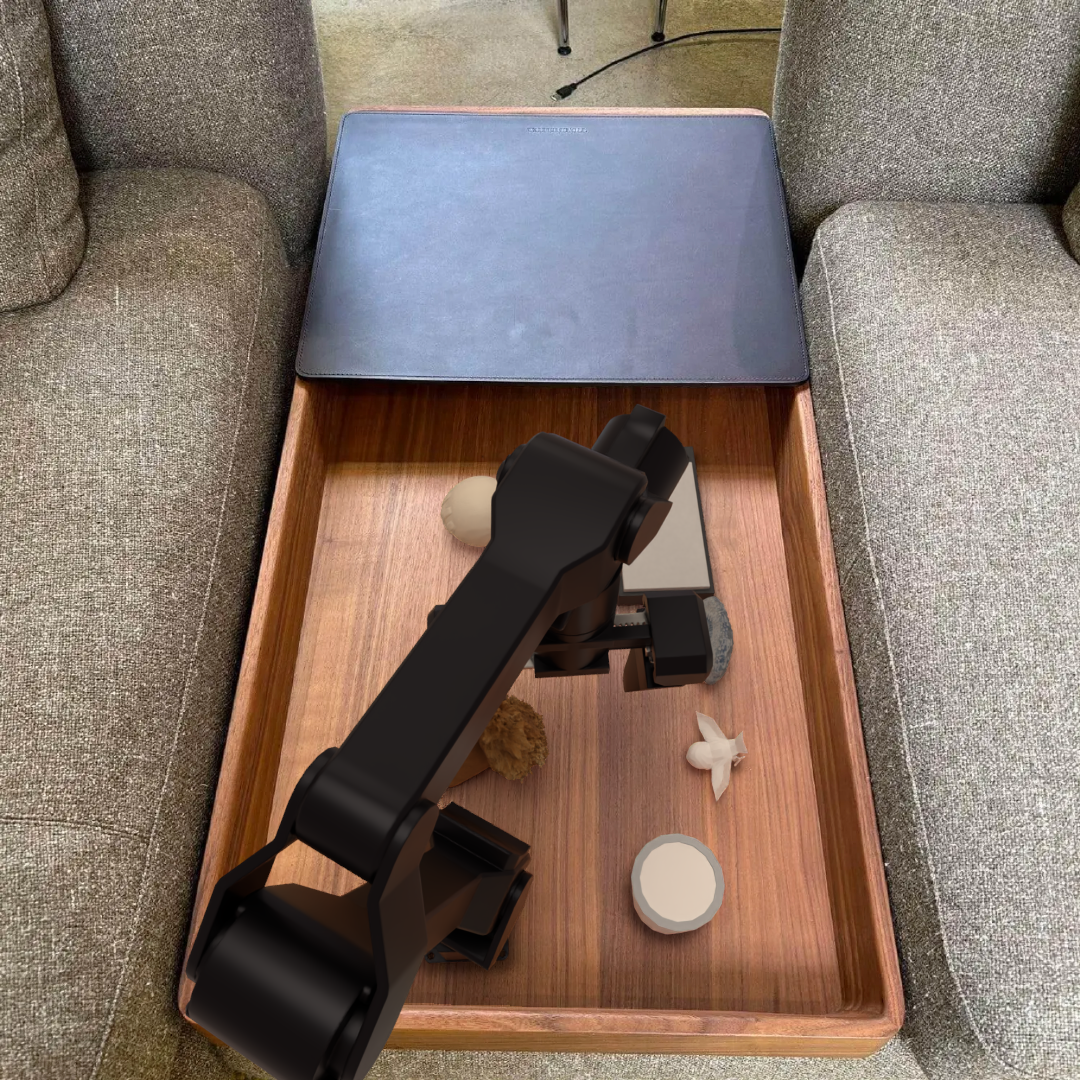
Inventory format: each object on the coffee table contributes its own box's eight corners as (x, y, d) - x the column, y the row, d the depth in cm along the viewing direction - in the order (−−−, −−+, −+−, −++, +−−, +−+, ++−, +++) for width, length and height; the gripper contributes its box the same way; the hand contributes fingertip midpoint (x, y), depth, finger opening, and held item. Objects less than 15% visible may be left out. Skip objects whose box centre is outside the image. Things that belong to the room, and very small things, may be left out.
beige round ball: (443, 503, 90) (436, 464, 85) (515, 499, 91) (513, 460, 85) (443, 561, 87) (436, 525, 81) (518, 556, 87) (516, 520, 81)
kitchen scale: (711, 602, 84) (716, 590, 82) (617, 605, 84) (619, 593, 82) (690, 457, 93) (693, 442, 91) (604, 460, 93) (605, 445, 91)
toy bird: (670, 716, 78) (696, 695, 74) (716, 716, 80) (743, 696, 76) (690, 807, 74) (718, 790, 70) (737, 805, 76) (768, 789, 72)
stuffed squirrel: (409, 675, 81) (386, 611, 70) (562, 700, 79) (564, 640, 68) (380, 783, 76) (351, 733, 65) (542, 812, 74) (541, 767, 63)
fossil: (688, 610, 84) (696, 585, 80) (725, 612, 84) (735, 587, 80) (689, 692, 80) (697, 671, 75) (728, 695, 80) (738, 674, 75)
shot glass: (710, 856, 73) (725, 837, 67) (710, 947, 69) (725, 936, 63) (626, 847, 73) (633, 828, 67) (622, 938, 69) (629, 926, 63)
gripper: (702, 475, 58) (672, 588, 71) (416, 491, 57) (440, 602, 71) (733, 629, 52) (694, 721, 66) (415, 649, 52) (441, 737, 65)
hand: (565, 689), depth 67 cm, fingers open, 9 cm apart
